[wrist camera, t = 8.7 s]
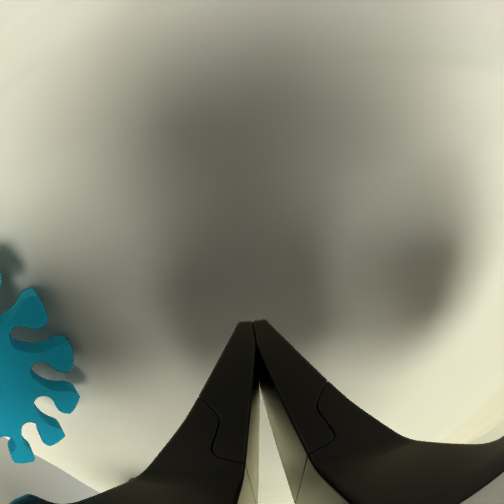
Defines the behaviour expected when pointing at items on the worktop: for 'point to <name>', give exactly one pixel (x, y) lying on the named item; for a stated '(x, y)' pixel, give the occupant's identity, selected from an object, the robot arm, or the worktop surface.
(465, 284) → the worktop surface
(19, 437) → the gear
